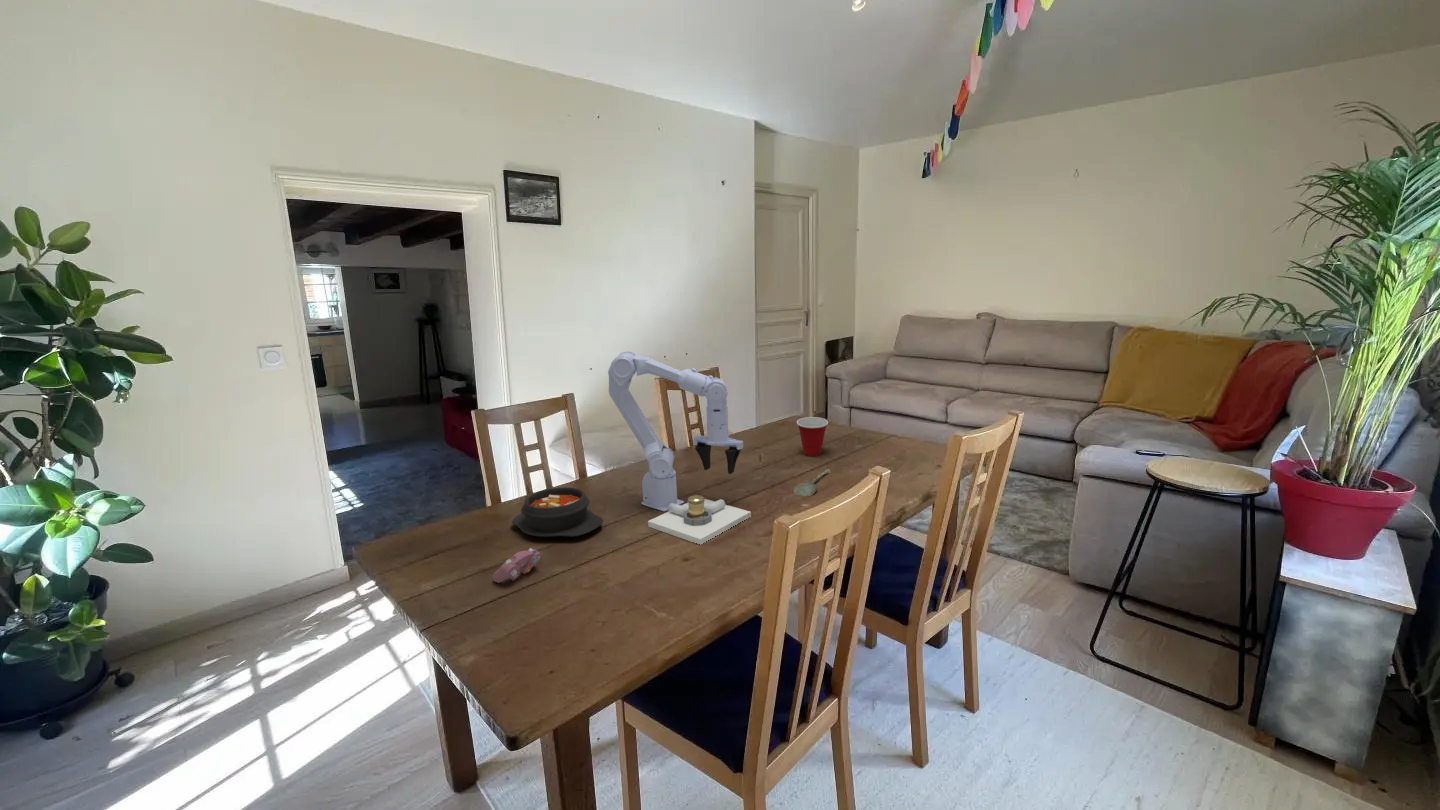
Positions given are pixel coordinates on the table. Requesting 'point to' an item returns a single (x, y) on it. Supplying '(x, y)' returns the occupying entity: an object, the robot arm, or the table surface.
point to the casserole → (557, 514)
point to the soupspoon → (808, 486)
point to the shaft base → (699, 531)
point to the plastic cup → (812, 434)
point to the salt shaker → (696, 507)
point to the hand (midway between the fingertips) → (719, 470)
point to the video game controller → (517, 565)
